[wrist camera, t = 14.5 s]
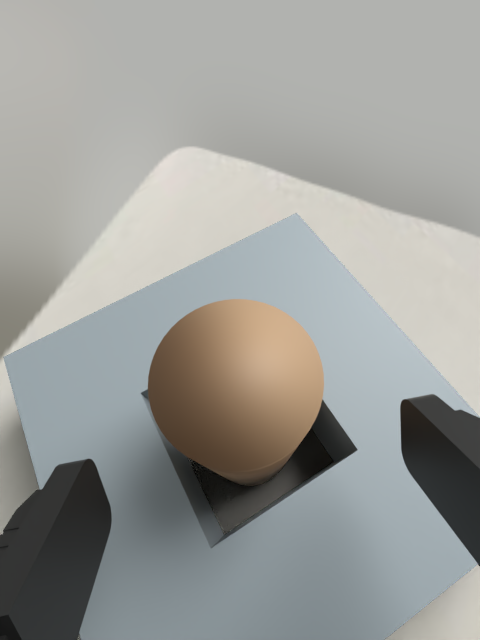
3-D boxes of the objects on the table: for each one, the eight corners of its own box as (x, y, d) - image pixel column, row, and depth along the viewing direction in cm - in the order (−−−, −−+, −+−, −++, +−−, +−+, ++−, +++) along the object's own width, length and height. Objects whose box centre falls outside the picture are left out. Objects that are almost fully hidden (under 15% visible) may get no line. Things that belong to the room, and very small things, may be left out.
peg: (262, 384, 20) (263, 274, 10) (307, 455, 18) (361, 405, 8) (193, 424, 19) (122, 347, 9) (233, 503, 17) (196, 510, 7)
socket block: (289, 267, 23) (296, 212, 19) (477, 500, 17) (555, 501, 12) (59, 387, 20) (3, 357, 16) (176, 729, 14) (136, 840, 9)
